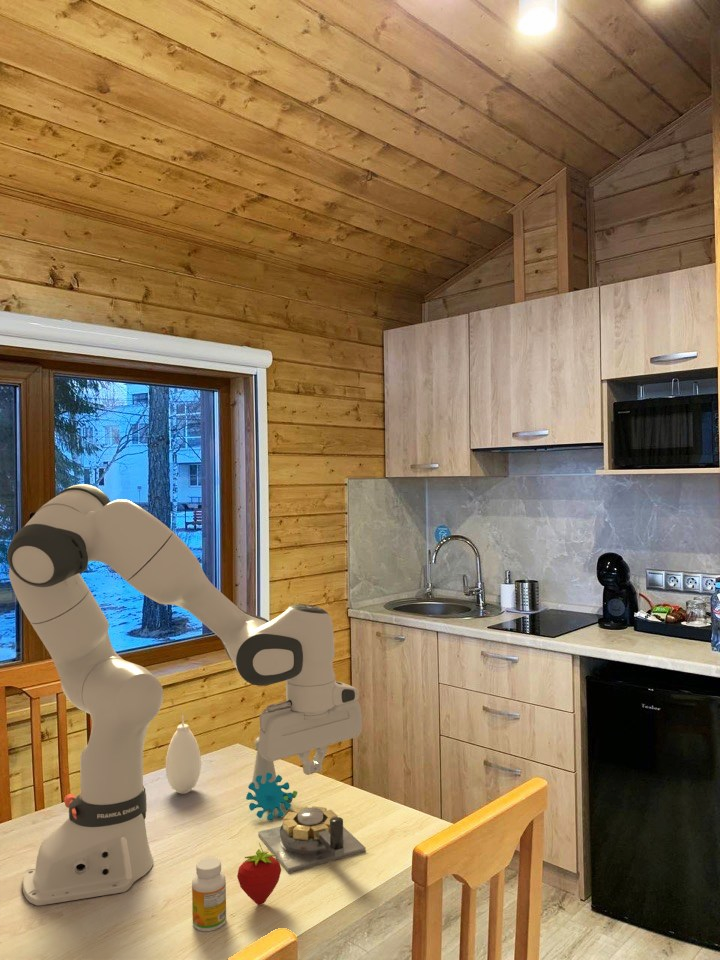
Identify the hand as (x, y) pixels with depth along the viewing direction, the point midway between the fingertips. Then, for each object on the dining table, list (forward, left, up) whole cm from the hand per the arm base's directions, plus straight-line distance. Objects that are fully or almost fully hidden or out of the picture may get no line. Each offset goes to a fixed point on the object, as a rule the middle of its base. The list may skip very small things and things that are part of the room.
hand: (312, 772), depth 135 cm
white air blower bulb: (-11, +49, -20) cm, 54 cm away
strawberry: (-11, -2, -20) cm, 23 cm away
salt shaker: (+5, +39, -20) cm, 44 cm away
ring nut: (+5, +9, -16) cm, 19 cm away
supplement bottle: (-20, -3, -20) cm, 28 cm away
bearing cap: (+5, +13, -20) cm, 24 cm away
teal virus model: (+3, +29, -20) cm, 35 cm away
